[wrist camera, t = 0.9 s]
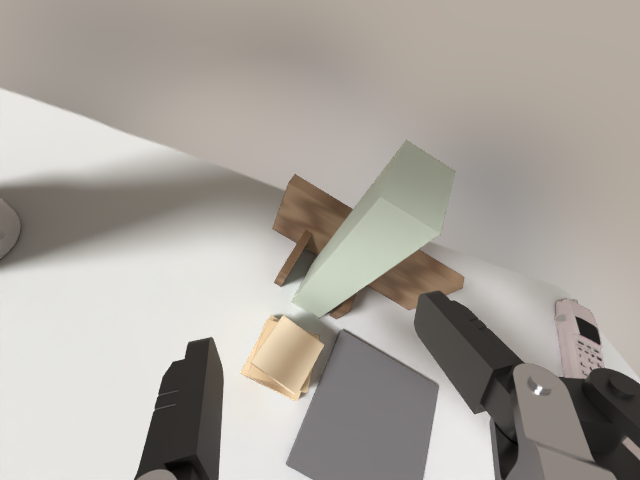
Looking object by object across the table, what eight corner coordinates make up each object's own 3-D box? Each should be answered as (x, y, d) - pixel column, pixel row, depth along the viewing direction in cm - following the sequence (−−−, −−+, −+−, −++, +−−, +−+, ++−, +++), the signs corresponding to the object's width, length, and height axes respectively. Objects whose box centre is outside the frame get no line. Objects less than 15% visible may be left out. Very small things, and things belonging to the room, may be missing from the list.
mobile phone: (626, 466, 32) (585, 279, 45) (570, 455, 37) (548, 290, 50) (666, 485, 32) (614, 295, 46) (605, 472, 37) (574, 304, 51)
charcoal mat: (285, 463, 26) (287, 465, 26) (340, 330, 34) (341, 329, 34) (409, 532, 27) (413, 535, 27) (435, 386, 35) (438, 386, 34)
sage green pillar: (291, 301, 34) (380, 197, 15) (311, 263, 37) (406, 139, 19) (319, 318, 34) (440, 234, 16) (337, 278, 37) (455, 170, 19)
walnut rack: (245, 266, 34) (255, 225, 26) (277, 221, 38) (295, 174, 30) (397, 354, 35) (453, 343, 27) (411, 301, 39) (464, 277, 31)
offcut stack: (237, 373, 29) (240, 370, 25) (267, 316, 32) (274, 306, 29) (295, 402, 29) (307, 404, 26) (318, 343, 33) (332, 337, 29)
